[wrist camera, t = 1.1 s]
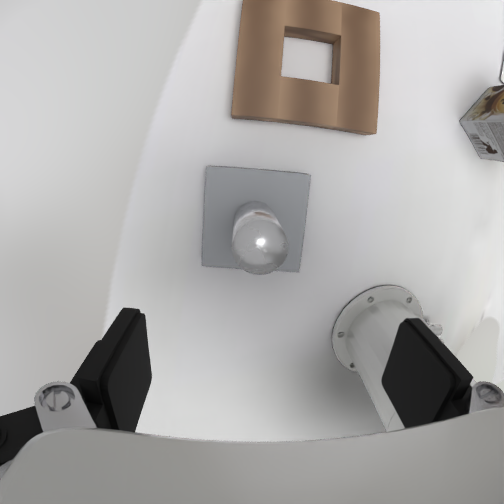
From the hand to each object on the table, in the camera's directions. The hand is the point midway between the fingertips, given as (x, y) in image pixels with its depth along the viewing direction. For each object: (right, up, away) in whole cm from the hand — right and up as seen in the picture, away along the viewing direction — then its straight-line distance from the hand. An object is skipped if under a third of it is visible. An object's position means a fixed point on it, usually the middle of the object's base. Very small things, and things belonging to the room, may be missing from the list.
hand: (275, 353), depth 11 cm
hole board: (+5, +23, +17) cm, 29 cm away
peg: (-1, +6, +20) cm, 21 cm away
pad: (-1, +7, +22) cm, 23 cm away
